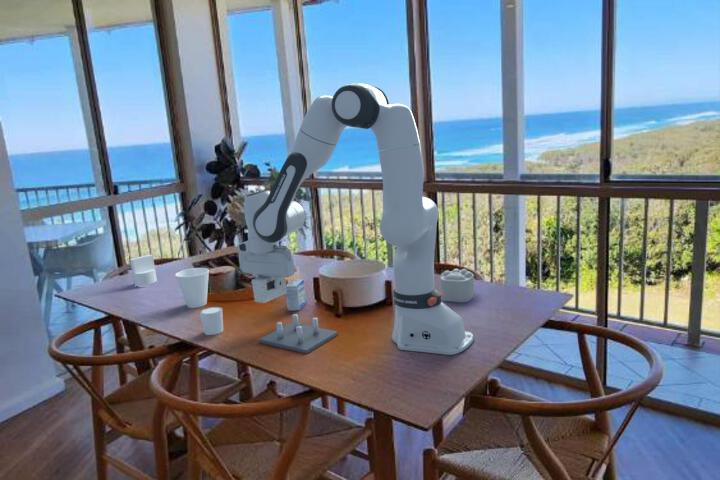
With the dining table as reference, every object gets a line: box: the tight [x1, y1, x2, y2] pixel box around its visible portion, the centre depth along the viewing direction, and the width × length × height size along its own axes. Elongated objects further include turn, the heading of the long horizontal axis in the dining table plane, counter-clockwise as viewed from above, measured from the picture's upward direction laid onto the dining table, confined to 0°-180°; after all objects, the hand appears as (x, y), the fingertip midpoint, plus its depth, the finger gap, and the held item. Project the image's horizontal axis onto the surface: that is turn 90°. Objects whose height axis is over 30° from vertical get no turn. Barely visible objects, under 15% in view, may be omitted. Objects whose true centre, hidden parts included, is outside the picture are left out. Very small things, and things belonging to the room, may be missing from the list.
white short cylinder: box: [199, 306, 224, 336], centre depth 162 cm, size 7×7×7 cm
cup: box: [174, 267, 210, 309], centre depth 189 cm, size 12×12×12 cm
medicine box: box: [285, 279, 307, 312], centre depth 179 cm, size 8×4×9 cm, turn 168°
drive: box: [251, 275, 287, 304], centre depth 160 cm, size 4×10×7 cm, turn 145°
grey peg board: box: [258, 313, 339, 355], centre depth 152 cm, size 18×14×6 cm
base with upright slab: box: [129, 254, 158, 286], centre depth 221 cm, size 9×9×12 cm
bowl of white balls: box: [439, 268, 475, 303], centre depth 177 cm, size 10×13×9 cm
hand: (269, 288), depth 160 cm, fingers closed on drive, 4 cm apart
